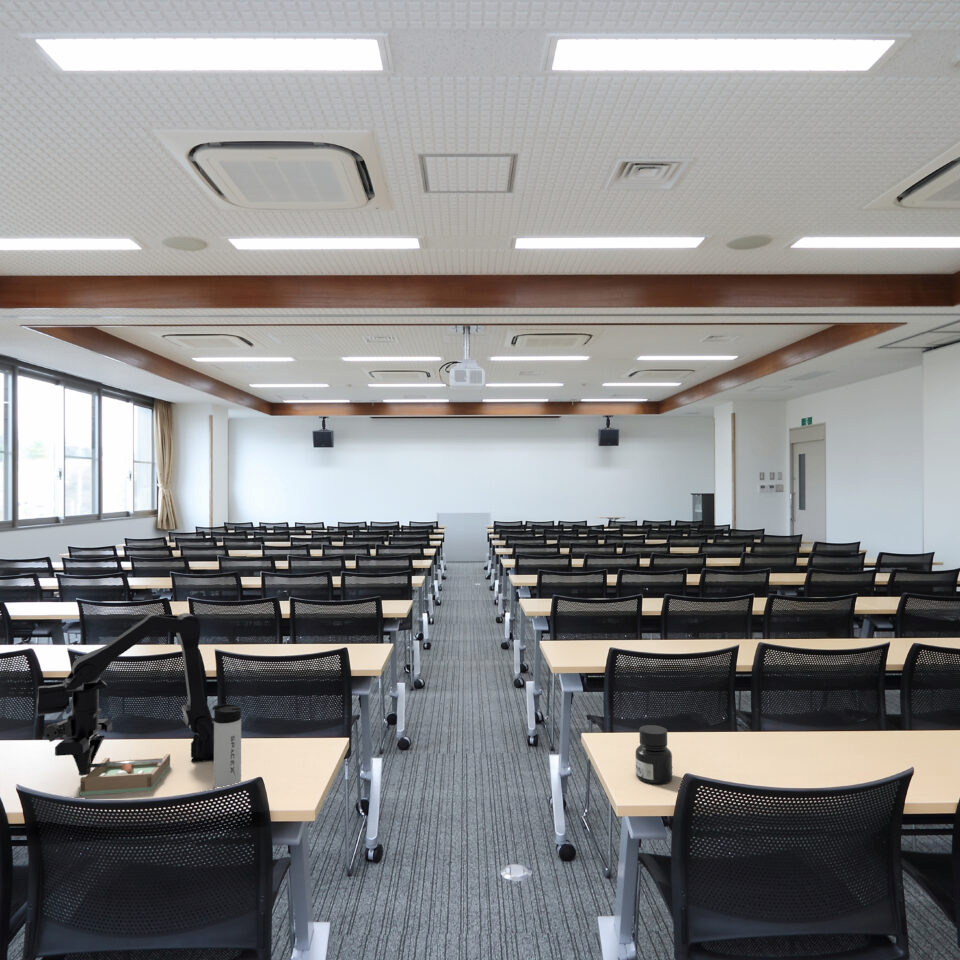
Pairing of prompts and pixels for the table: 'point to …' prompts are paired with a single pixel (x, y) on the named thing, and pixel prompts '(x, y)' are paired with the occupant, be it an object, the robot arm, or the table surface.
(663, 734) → the ink bottle
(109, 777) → the pitch
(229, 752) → the travel mug
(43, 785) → the table surface
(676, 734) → the table surface
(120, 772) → the ball
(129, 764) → the rubber mallet
